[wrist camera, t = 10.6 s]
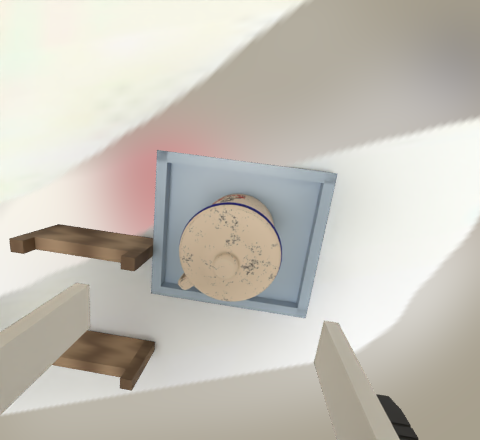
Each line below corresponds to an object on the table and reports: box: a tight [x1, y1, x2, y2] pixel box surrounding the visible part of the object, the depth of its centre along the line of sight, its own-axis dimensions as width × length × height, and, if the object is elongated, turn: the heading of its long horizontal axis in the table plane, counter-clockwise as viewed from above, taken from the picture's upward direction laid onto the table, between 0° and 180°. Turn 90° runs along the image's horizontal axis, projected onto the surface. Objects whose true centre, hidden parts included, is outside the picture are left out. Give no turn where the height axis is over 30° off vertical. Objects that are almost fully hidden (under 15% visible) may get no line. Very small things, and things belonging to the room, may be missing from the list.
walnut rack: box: [10, 224, 155, 390], centre depth 30 cm, size 14×18×6 cm
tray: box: [151, 150, 337, 318], centre depth 29 cm, size 20×18×2 cm
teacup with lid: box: [178, 194, 282, 302], centre depth 23 cm, size 12×9×12 cm
